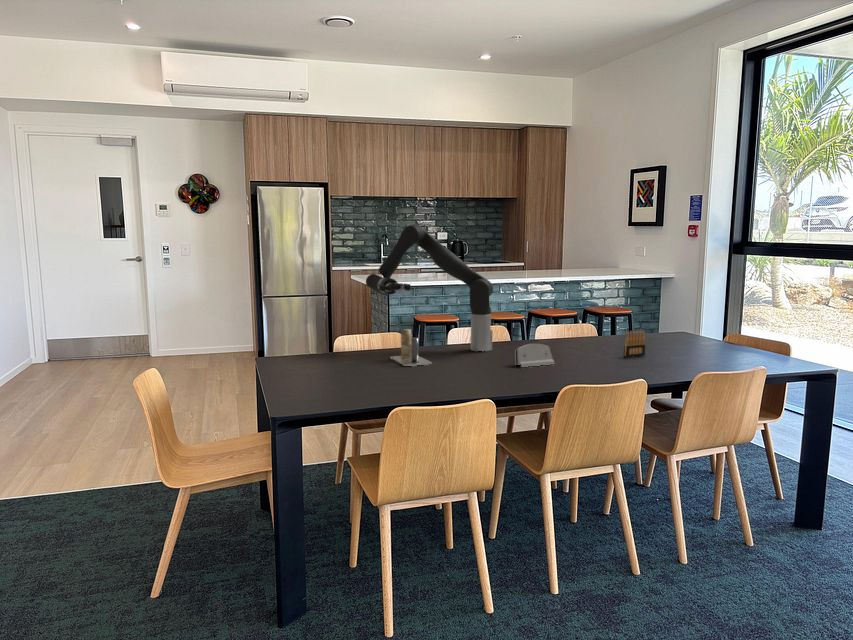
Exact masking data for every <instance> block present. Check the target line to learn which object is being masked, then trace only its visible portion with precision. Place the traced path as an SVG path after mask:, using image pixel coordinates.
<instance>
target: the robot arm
mask: <svg viewBox="0 0 853 640" xmlns="http://www.w3.org/2000/svg"><path fill="white" fill-rule="evenodd" d="M413 245H416V246H417V247H420V248H421V249H422V250H424V252H426V253H427V254H428V255H429V256H430V258H431V259H432V261H433V262H434V264H435V265H436V266H437V267H438V268H439V269H441V270H442V271H443V272H444V273H446V274H448V275H449V276H451V277H453V278H455V279H457V280H459V281H461V282H463V283H464V284H465V285H466V286H468V287H469V307H470V351H473V352H478V351H482V352H484V351H485V352H490V351H493V330H492V329H491V328H492V308H491V305H490V296H492V294H493V292H494V286H493V284H492V282H491V281H490V280H488V279H487V278H485V277H484V276H482V275H481V274H479V273H478V272H476V271H475V270H473V269H472V268H471V267H470V266H468V265H467V263H465V262H464V260H462V259H461V258H460V257H458V256H457V255H456V254H455V253H454V252H452V251H451V250H450V249H448V248H447V247H446V246H444V245H443V244H442V243H440V242H439V241H437V240H436V239H435V238H434V237H433V236H432V235H431V234H430V233H429V232H428V231H427V230H426V229H425V228H424V227H423V226H421V225H420V224H409V225H407V226H405V227H404V228H403V230H402V232H401V234H400V236H399V238H398V239H397V241H396V243H395V245H394V246H393V248H392V250H391V252H390V253H389V254H388V255H387V257H386V258H385V260H384V261H383V262H382V264H381V265H380V266H379V268H378V272H379V274H380V275H381V276H380V275H378V274H375V273H371V274H369V275H368V276H366V280H365V284H366V287H368V288H369V289H371V290H373V291H375V292H377V293H379V294H380V293H383V294H386V295H394V294H396V293H397V292H398V291H399V292H403V291H411V290H412V289H411V283H399V282H397V280H396V279H395V278H392V275H393V274H394V273H395V272H396V270H397V269H398V267H400V264H401V262H402V259H403V257H404V256H405V253H407V251H408V250H409V249H410V248H411V247H412V246H413Z"/></svg>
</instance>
